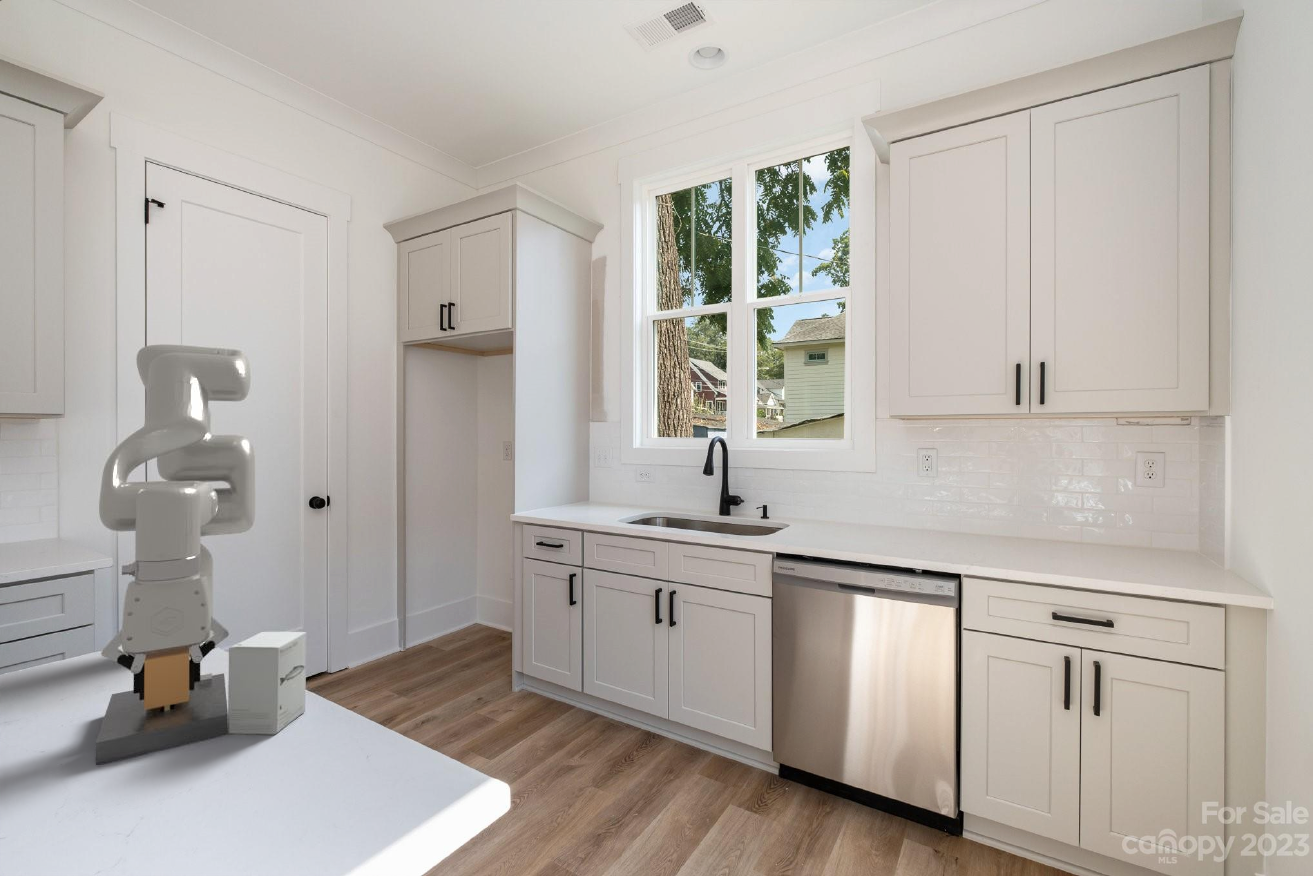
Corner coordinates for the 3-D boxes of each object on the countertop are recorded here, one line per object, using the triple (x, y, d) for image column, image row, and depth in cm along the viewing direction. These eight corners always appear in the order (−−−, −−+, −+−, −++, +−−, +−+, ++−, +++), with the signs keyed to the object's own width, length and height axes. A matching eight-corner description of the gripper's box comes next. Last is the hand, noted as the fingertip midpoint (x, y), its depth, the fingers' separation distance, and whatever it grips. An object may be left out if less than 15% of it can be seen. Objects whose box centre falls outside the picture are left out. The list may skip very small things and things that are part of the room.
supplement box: (276, 735, 87) (277, 647, 87) (225, 734, 87) (226, 646, 87) (307, 712, 95) (308, 631, 94) (260, 711, 95) (260, 630, 95)
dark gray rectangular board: (111, 713, 93) (112, 689, 93) (224, 691, 102) (224, 668, 101) (95, 766, 79) (95, 736, 79) (227, 734, 87) (227, 708, 87)
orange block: (148, 702, 92) (148, 644, 92) (189, 694, 95) (189, 638, 95) (144, 722, 86) (144, 660, 86) (188, 713, 89) (189, 653, 89)
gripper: (86, 582, 82) (85, 717, 82) (239, 566, 92) (238, 686, 92) (94, 572, 88) (93, 698, 88) (237, 558, 98) (236, 671, 98)
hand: (167, 690), depth 90 cm, fingers closed on orange block, 4 cm apart
